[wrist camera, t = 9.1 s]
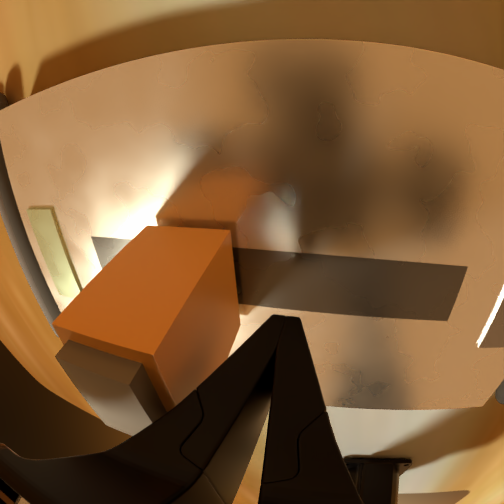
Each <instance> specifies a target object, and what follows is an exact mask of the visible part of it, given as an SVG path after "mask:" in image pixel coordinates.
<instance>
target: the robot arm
mask: <svg viewBox="0 0 504 504" xmlns="http://www.w3.org/2000/svg"><path fill="white" fill-rule="evenodd" d="M269 409H270V411H269ZM268 412H269V420H268V429H267V437H266V446H265V454H264V462H263V470H262V478H261V486H260V493H259V500H258V504H397V502H398V488H399V476H400V475H402V474H403V473H404V472H405V471H406V470H407V469H408V468H409V467H410V466H411V465H412V460H411V459H401V460H370V459H343V457H342V455H341V452H340V450H339V447H338V445H337V442H336V440H335V436H334V433H333V430H332V427H331V424H330V420H329V416H328V413H327V412H326V406H325V402H324V399H323V395H322V391H321V388H320V384H319V381H318V377H317V374H316V370H315V366H314V363H313V359H312V356H311V352H310V349H309V346H308V342H307V339H306V335H305V332H304V328H303V325H302V322H301V319H300V318H299V317H295V316H285V315H277V314H273V315H271V316H270V317H269V318H268V319H267V320H266V321H265V322H264V323H263V324H262V325H261V326H260V327H259V328H258V329H257V330H256V331H255V332H254V333H253V334H252V335H251V336H250V337H249V338H248V339H247V340H246V341H245V342H244V343H243V344H242V345H241V346H240V347H239V348H238V349H237V350H236V351H235V352H234V353H233V354H232V355H230V356H229V357H228V358H227V359H226V360H225V361H224V362H223V363H222V364H221V365H220V366H219V367H218V368H217V369H216V370H215V371H214V372H213V373H212V374H210V375H209V376H208V377H207V378H206V379H205V380H204V381H203V382H202V383H201V384H200V385H199V386H198V387H197V388H196V389H194V390H193V391H192V392H191V393H190V394H189V395H188V396H187V397H185V398H184V399H183V400H182V401H181V402H180V403H178V404H177V405H176V406H175V407H174V408H173V409H171V410H170V411H169V412H167V413H166V414H164V415H163V416H162V417H160V418H159V419H158V420H156V421H155V422H153V423H152V424H150V425H149V426H147V427H146V428H144V429H143V430H141V431H140V432H138V433H137V434H135V435H134V436H132V437H131V438H129V439H128V440H126V441H124V442H123V443H121V444H120V445H118V446H116V447H114V448H112V449H109V450H106V451H103V452H100V453H94V454H87V455H80V456H72V457H63V458H54V459H43V460H32V459H25V458H22V457H20V456H18V455H17V454H16V453H14V452H13V451H12V450H11V449H10V448H8V447H7V446H6V445H4V444H2V443H0V504H232V503H233V500H234V498H235V496H236V493H237V491H238V489H239V486H240V484H241V481H242V479H243V476H244V474H245V472H246V469H247V467H248V464H249V462H250V459H251V456H252V454H253V451H254V449H255V446H256V444H257V441H258V438H259V436H260V433H261V430H262V428H263V425H264V422H265V420H266V417H267V414H268Z"/></svg>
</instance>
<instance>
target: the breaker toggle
mask: <svg viewBox="0 0 504 504" xmlns="http://www.w3.org/2000/svg"><path fill="white" fill-rule="evenodd" d="M52 325H53V327H54V329H55V331H56V333H57V334H58V336H59V338H60V340H61V341H62V343H63V345H64V346H63V347H62V348H61V350H60V351H59V352H58V353H57V355H56V356H55V357H56V359H57V360H58V362H59V363H60V365H61V366H62V368H63V369H64V371H65V372H66V374H67V375H68V376H69V378H70V379H71V381H72V382H73V383H74V385H75V386H76V388H77V389H78V390H79V392H80V393H81V394H82V396H83V397H84V398H85V400H86V401H87V402H88V403H89V405H90V406H91V407H92V409H93V410H94V411H95V412H96V414H97V415H98V416H99V417H100V418H101V420H102V421H103V422H104V423H105V424H106V425H107V426H110V427H112V428H114V429H117V430H119V431H122V432H124V433H127V434H129V435H132V436H134V435H135V434H137V433H138V432H140V431H141V430H143V429H144V428H146V427H147V426H149V425H150V424H152V423H153V422H155V421H156V420H158V419H159V418H160V417H162V416H163V415H164V414H166V413H167V412H169V411H170V410H171V409H173V408H174V407H175V406H176V405H177V404H178V403H180V402H181V401H182V400H183V399H184V398H185V397H187V396H188V395H189V394H190V393H191V392H192V391H193V390H194V389H196V388H197V387H198V386H199V385H200V384H201V383H202V382H203V381H204V380H205V379H206V378H207V377H208V376H209V375H210V374H212V373H213V372H214V371H215V370H216V369H217V368H218V367H219V366H220V365H221V364H222V363H223V362H224V361H225V360H226V359H227V358H228V356H229V354H230V351H231V348H232V346H233V343H234V341H235V338H236V336H237V333H238V331H239V328H240V325H241V323H240V314H239V305H238V296H237V287H236V278H235V269H234V259H233V250H232V240H231V231H230V230H222V229H205V228H188V227H170V226H150V225H147V226H146V227H145V228H144V229H142V230H141V231H140V232H139V233H138V234H137V235H136V236H135V237H134V238H133V239H132V240H131V241H130V242H129V243H128V244H127V245H126V246H125V247H124V248H123V249H122V250H121V251H120V252H119V253H118V254H117V255H116V256H115V257H114V258H113V259H112V260H111V261H110V262H109V263H108V264H107V265H106V266H105V267H104V268H103V269H102V270H101V271H100V272H99V273H98V274H97V275H96V276H95V277H94V278H93V279H92V280H91V281H90V282H89V283H88V284H87V285H86V286H85V287H84V289H83V290H82V291H81V292H80V293H79V294H78V295H77V296H76V297H75V298H74V299H73V300H72V301H71V303H70V304H69V305H68V306H67V307H66V308H65V309H64V310H63V311H62V312H61V314H60V315H59V316H58V317H57V318H56V319H55V320H54V321H53V323H52Z"/></svg>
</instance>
